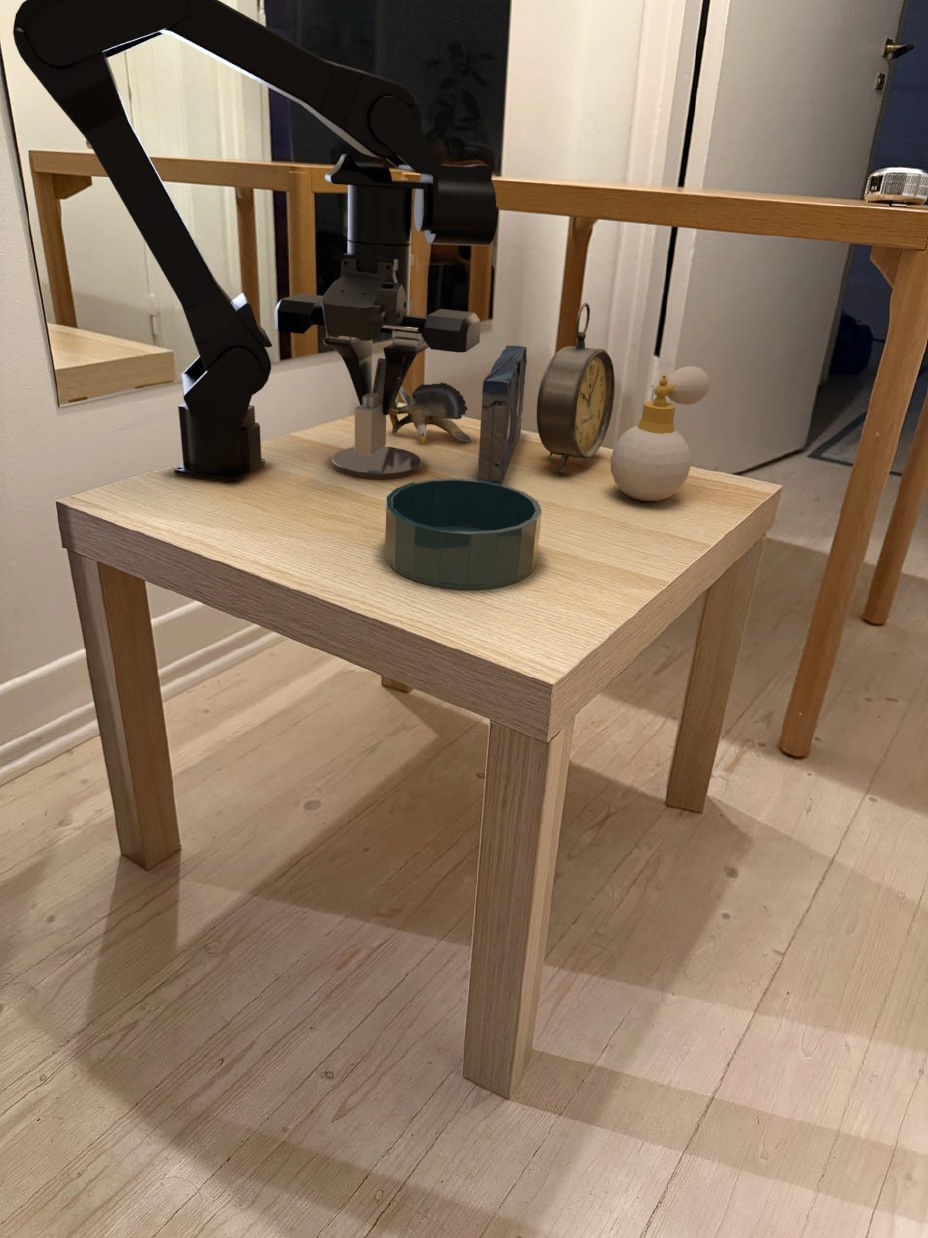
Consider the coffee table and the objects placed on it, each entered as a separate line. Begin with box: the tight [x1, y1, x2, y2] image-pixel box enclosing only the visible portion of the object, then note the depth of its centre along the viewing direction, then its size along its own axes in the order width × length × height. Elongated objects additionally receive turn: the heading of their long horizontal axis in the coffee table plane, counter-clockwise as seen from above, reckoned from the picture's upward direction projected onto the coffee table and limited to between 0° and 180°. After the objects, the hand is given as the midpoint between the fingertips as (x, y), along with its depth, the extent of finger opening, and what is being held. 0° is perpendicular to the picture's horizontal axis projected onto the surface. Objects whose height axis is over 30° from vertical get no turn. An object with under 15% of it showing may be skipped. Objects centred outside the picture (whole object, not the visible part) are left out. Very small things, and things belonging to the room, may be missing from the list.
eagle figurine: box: [388, 382, 473, 445], centre depth 100 cm, size 8×7×9 cm
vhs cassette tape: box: [477, 345, 528, 484], centre depth 94 cm, size 18×3×10 cm, turn 169°
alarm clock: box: [536, 302, 616, 476], centre depth 92 cm, size 11×5×16 cm, turn 151°
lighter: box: [353, 357, 387, 455], centre depth 89 cm, size 7×2×8 cm, turn 162°
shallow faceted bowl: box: [384, 477, 543, 590], centre depth 71 cm, size 12×12×4 cm
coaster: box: [331, 445, 422, 480], centre depth 92 cm, size 9×9×1 cm
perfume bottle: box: [610, 365, 710, 502], centre depth 86 cm, size 8×10×12 cm
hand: (376, 412), depth 89 cm, fingers closed on lighter, 2 cm apart
